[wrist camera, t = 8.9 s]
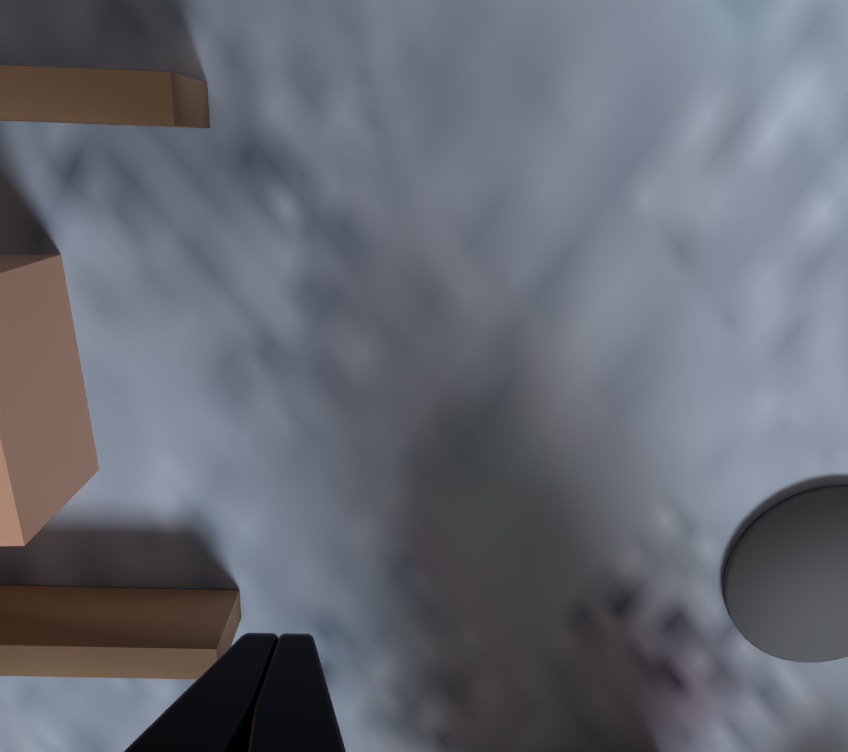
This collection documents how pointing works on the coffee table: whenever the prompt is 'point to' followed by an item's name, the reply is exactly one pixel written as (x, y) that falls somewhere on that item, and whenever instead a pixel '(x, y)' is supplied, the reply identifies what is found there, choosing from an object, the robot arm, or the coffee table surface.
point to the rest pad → (794, 578)
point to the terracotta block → (39, 398)
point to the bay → (100, 606)
